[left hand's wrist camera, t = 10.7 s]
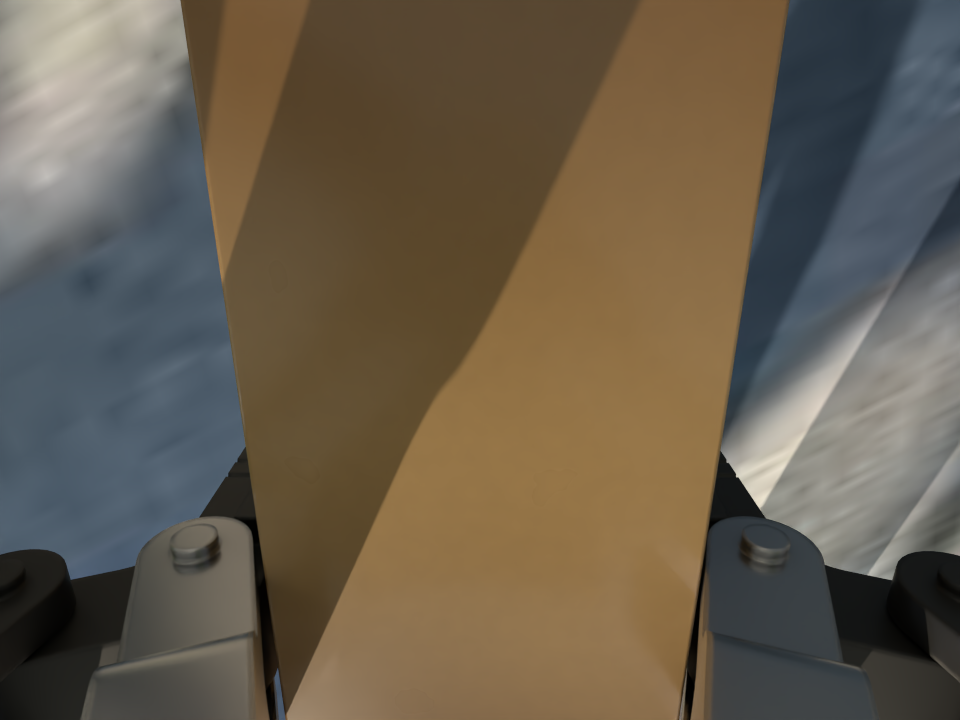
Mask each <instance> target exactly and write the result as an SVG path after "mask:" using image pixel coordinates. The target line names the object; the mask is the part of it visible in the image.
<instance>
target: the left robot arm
mask: <svg viewBox="0 0 960 720" xmlns="http://www.w3.org/2000/svg"><path fill="white" fill-rule="evenodd" d="M277 668H278V663H277V656H276V649H275V643H274V636H273V629H272V622H271V615H270V608H269V602H268V595H267V588H266V581H265V574H264V567H263V561H262V554H261V547H260V540H259V533H258V526H257V519H256V513H255V506H254V499H253V492H252V485H251V478H250V472H249V465H248V458H247V451H246V447H245V449H244V450H243V452H242V453H241V455H240V456H239V458H238V462H235V464H234V465H233V467H232V468H231V470H230V471H229V473H228V477H225V479H224V481H223V482H222V484H221V485H220V487H219V488H218V490H217V491H216V493H215V494H214V496H213V497H212V499H211V500H210V502H209V503H208V505H207V506H206V508H205V509H204V511H203V512H202V514H201V516H200V517H199V518H196V519H191V520H188V521H184V522H181V523H178V524H176V525H174V526H171V527H169V528H167V529H165V530H163V531H162V532H160V533H159V534H157V535H156V536H154V537H153V538H152V539H151V540H149V541H148V542H147V543H146V544H145V545H144V547H143V548H142V549H141V551H140V552H139V554H138V557H137V560H136V565H135V566H133V567H129V568H125V569H121V570H117V571H112V572H107V573H102V574H97V575H93V576H88V577H83V578H78V579H73V580H70V576H69V573H68V569H67V566H66V563H65V560H64V559H63V558H62V557H61V556H60V555H59V554H57V553H55V552H52V551H48V550H40V549H29V550H20V551H14V552H9V553H5V554H2V555H0V720H279V716H278V704H277V692H276V686H275V679H274V677H275V674H276V671H277ZM681 720H960V556H958V555H954V554H949V553H944V552H935V551H921V552H914V553H911V554H907V555H906V556H904V557H902V558H901V559H900V560H899V561H898V564H897V566H896V569H895V573H894V576H893V580H887V579H882V578H878V577H873V576H868V575H863V574H858V573H853V572H848V571H844V570H840V569H836V568H832V567H829V566H826V565H824V560H823V557H822V554H821V552H820V551H819V549H818V548H817V547H816V545H815V544H814V543H813V542H812V541H811V540H809V539H808V538H807V537H806V536H804V535H803V534H801V533H800V532H798V531H797V530H795V529H793V528H791V527H789V526H786V525H784V524H782V523H779V522H776V521H772V520H769V519H766V518H765V517H764V515H763V514H762V512H761V511H760V509H759V508H758V506H757V505H756V503H755V502H754V500H753V499H752V497H751V496H750V494H749V493H748V491H747V490H746V488H745V487H744V485H743V484H742V482H741V481H740V479H739V478H736V473H735V472H734V470H733V469H732V467H731V466H730V464H729V463H726V458H725V457H724V455H723V454H722V452H721V451H720V455H719V462H718V468H717V475H716V481H715V488H714V494H713V501H712V507H711V514H710V520H709V527H708V533H707V540H706V546H705V553H704V559H703V566H702V572H701V579H700V585H699V592H698V598H697V605H696V611H695V618H694V624H693V631H692V637H691V644H690V650H689V657H688V663H687V673H686V679H685V685H684V692H683V704H682V716H681Z"/></svg>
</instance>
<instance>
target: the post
mask: <svg viewBox="0 0 960 720" xmlns="http://www.w3.org/2000/svg"><path fill="white" fill-rule="evenodd" d="M789 1H790V0H181V7H182V13H183V20H184V27H185V34H186V41H187V48H188V54H189V61H190V68H191V75H192V82H193V89H194V95H195V102H196V109H197V116H198V123H199V130H200V137H201V143H202V150H203V157H204V164H205V171H206V178H207V184H208V191H209V198H210V205H211V212H212V219H213V225H214V232H215V239H216V246H217V253H218V260H219V266H220V273H221V280H222V287H223V294H224V301H225V307H226V314H227V321H228V328H229V335H230V342H231V349H232V355H233V362H234V369H235V376H236V383H237V390H238V396H239V403H240V410H241V417H242V424H243V431H244V437H245V444H246V451H247V458H248V465H249V472H250V478H251V485H252V492H253V499H254V506H255V513H256V519H257V526H258V533H259V540H260V547H261V554H262V561H263V567H264V574H265V581H266V588H267V595H268V602H269V608H270V615H271V622H272V629H273V636H274V643H275V649H276V656H277V663H278V670H279V677H280V684H281V690H282V697H283V704H284V711H285V718H286V720H679V715H680V709H681V702H682V696H683V689H684V683H685V676H686V670H687V663H688V657H689V650H690V644H691V637H692V631H693V624H694V618H695V611H696V605H697V598H698V592H699V585H700V579H701V572H702V566H703V559H704V553H705V546H706V540H707V533H708V527H709V520H710V514H711V507H712V501H713V494H714V488H715V481H716V475H717V468H718V462H719V455H720V449H721V442H722V436H723V429H724V423H725V416H726V410H727V403H728V397H729V391H730V384H731V378H732V371H733V365H734V358H735V352H736V345H737V339H738V332H739V326H740V319H741V313H742V306H743V300H744V293H745V287H746V280H747V274H748V267H749V261H750V254H751V248H752V241H753V235H754V228H755V222H756V215H757V209H758V202H759V196H760V189H761V183H762V176H763V170H764V163H765V157H766V150H767V144H768V137H769V131H770V124H771V118H772V111H773V105H774V98H775V92H776V85H777V79H778V72H779V66H780V59H781V53H782V46H783V40H784V33H785V27H786V20H787V14H788V7H789Z"/></svg>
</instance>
